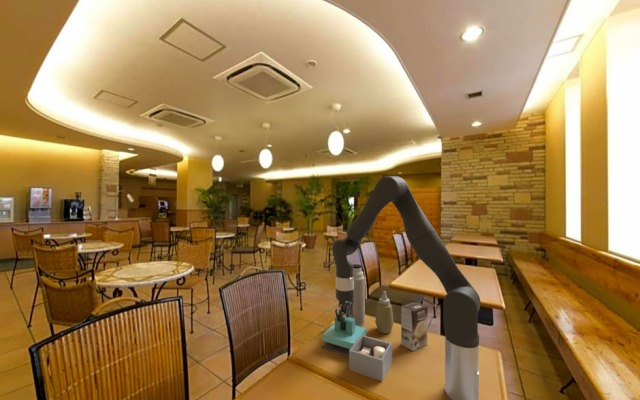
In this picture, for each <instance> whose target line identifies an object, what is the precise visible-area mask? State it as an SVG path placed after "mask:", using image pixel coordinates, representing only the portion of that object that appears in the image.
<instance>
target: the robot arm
mask: <svg viewBox="0 0 640 400" xmlns="http://www.w3.org/2000/svg"><path fill="white" fill-rule="evenodd" d="M371 191H372V192H371V194H370V195H369V196H368V198H367V201H366V202H365V204H364V206H363V207H362V209H361V211H360V212H359V213H358V215H357V216H356V218H355V219H354V220H353V222H352V223H351V224H350V225H349V226H348V228H347V230H346V237H345V238H341V239H337V240H335V241H334V243H333V245H332V250H331V251H332V256H333V259H334V263H335V267H336V268H335V272H336V273H335V274H336V275H335V299H336V300H338V308H337V309H335V311H334V312H335V317H337V321H339V322H340V330H342V331H345V330H346V317H350V315H351V314H352V309H353V302H354V300H353V299H354V279H353V264H354V263H353V262H352V261H350V260H348V256H351V255H353V254H355V253H356V252H357V250H358V248H359V247H360V245H361V243H362V241H363V239H364V238H365V237H366V236H367V235H368V233H369V232H370V231H371V229H372V228H373V225H374V224H375V222H376V219H377V218H378V215H379V214H380V213H381V211H382V210H383V209H384V208H385V207H386V206H387V205H389V204H390V203H392V204H393V206H395V208H396V210H397V211H398V213H399V214H400V217H401V219H402V224H403V227H404V231H405V235H406V238H407V240H408V243H409V244H410V246H411V247H412V250H413V251H414V252H415V254H416V256H417V257H418V258H419V259H420V260H421V262H423V263H424V265H425V266H426V267H428V269H430V270H431V271H432V272H433V273H434V274H435V275H436V277H437V278H438V279H439V282H440V283H441V285H442V287H443V288H444V290H445V292H446V294H445V296H444V299H443V303H442V304H443V305H442V314H443V315H442V316H443V317H442V318H443V330H444V334H445V335H444V336H445V341H444V342H445V346H444V348H445V349H444V353H445V354H444V355H445V356H444V391H445V395H446V396H447V398H449V399H450V400H480V335H479V332H478V331H479V330H478V329H479V327H478V325H479V324H478V323H479V322H478V321H479V320H478V318H479V316H478V314H479V312H480V311H479V310H480V308H481V303H482V301H481V298H480V295H479V293H478V292H477V291H476V289H475V288H474V286H472V284H471V283H470V282H469V280H468V279H467V278H466V276H465V275H464V274H463V272H462V271H461V270H460V269H459V267H458V266H457V264H456V262H455V261H454V259H453V257H452V255H451V254H450V251H448V249H447V247H446V246H445V244H444V243H443V240H442V238H441V237H440V236H439V235H438V233H437V231H436V229H435V227H434V226H432V223H431V222H430V221H429V219H428V218H427V216H426V215H425V213H424V212H423V210H422V209H421V207H420V206H419V204H418V203H417V201H416V199H415V196H414V194H413V193H412V191H411V189H410V187H409V185H408V183H407V181H405V179H403V178H402V177H400V176H397V175H385V176H382V177H381V178H379V179H378V180H377V182H376V183H375V186H374V187H373V189H372V190H371ZM343 316H344V318H343Z"/></svg>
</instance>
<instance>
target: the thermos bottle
mask: <svg viewBox="0 0 640 400" xmlns="http://www.w3.org/2000/svg"><path fill="white" fill-rule="evenodd" d="M352 264H353V279H354V299H353V300H354V302H353V309H352V314H351V315H350V318H354V319H355V325H356V326H360V327H364V325H365V323H366V310H365V306H366V305H365V304H366V303H365V302H366V298H365V296H366V295H365V294H366V293H365V291H366V290H365V289H366V288H365V287H366V280H365V278H366V277H365V276H364V272H363V271H362V265H361V264H359V263H358V264H357V263H356V264H354V263H352Z"/></svg>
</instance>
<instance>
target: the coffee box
mask: <svg viewBox="0 0 640 400" xmlns="http://www.w3.org/2000/svg"><path fill="white" fill-rule="evenodd" d="M428 312H429V306H428V305H426V304H423V303H421V302H417V301H413V302H410V303H407V304H402V305H401V312H400V313H401V315H400V316H401V317H400V318H401V320H400V322H401V325H400V327H401V328H400V329H401V330H400V338H401V339H400V345H402V346H404V347H406V349H409V350H410V351H412V352H414V351H417V350H419V349H421V348H423V347H425V346H427V345H428V334H429V333H428V324H429V323H428V322H429V321H428V320H429V319H428V318H429V315H428Z"/></svg>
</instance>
